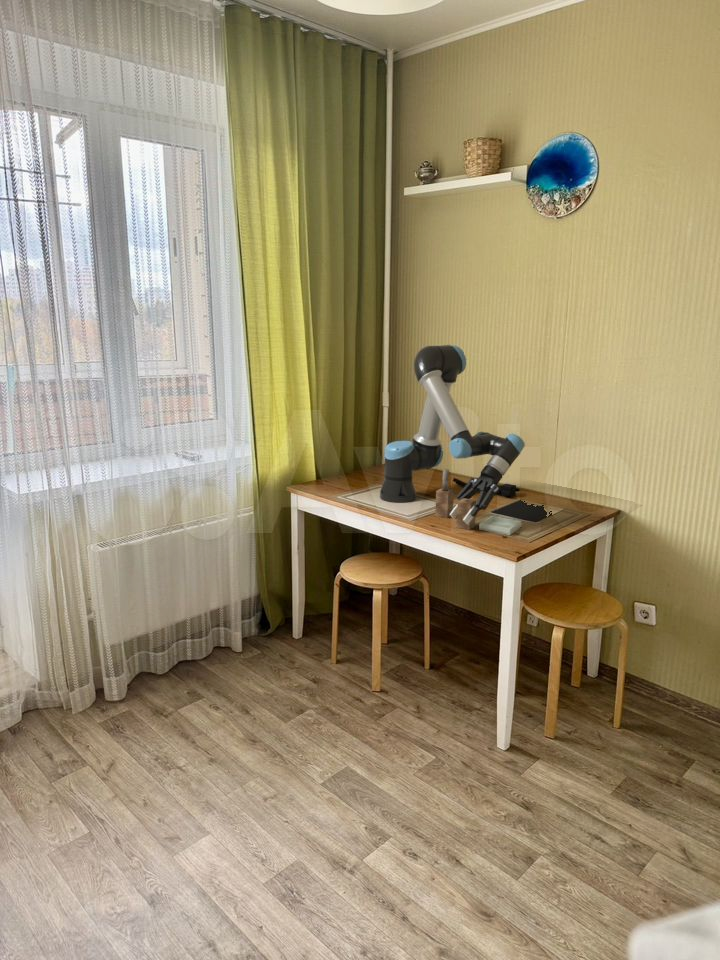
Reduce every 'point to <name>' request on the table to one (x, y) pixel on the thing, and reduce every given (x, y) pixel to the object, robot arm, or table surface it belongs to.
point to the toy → (504, 490)
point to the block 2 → (465, 513)
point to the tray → (500, 525)
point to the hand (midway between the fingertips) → (458, 519)
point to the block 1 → (444, 498)
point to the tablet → (522, 512)
